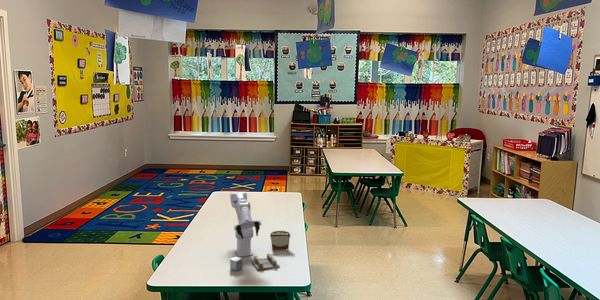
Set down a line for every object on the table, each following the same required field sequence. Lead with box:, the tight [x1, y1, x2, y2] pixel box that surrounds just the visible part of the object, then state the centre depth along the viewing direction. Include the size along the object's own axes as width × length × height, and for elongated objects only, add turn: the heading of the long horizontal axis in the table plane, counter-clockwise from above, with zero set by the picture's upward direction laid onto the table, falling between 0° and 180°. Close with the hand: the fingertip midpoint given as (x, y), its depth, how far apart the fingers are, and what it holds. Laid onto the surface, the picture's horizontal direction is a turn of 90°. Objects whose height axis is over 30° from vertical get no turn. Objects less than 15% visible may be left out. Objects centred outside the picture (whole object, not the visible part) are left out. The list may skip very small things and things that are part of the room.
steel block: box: [229, 256, 243, 273], centre depth 232 cm, size 4×4×6 cm
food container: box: [269, 230, 292, 251], centre depth 262 cm, size 12×6×10 cm, turn 92°
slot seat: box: [250, 253, 280, 272], centre depth 239 cm, size 12×12×4 cm
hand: (249, 236), depth 231 cm, fingers open, 7 cm apart
